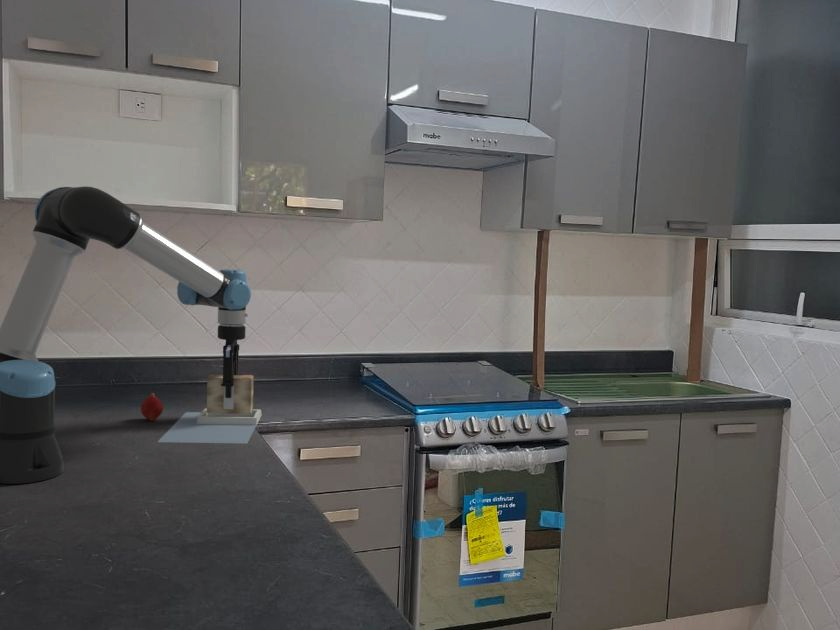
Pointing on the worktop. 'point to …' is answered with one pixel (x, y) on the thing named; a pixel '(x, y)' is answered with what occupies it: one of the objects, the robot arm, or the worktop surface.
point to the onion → (151, 408)
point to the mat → (206, 431)
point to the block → (241, 394)
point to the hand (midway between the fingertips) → (230, 406)
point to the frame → (229, 418)
